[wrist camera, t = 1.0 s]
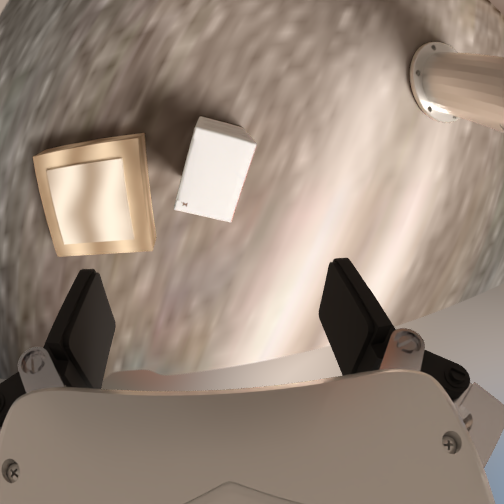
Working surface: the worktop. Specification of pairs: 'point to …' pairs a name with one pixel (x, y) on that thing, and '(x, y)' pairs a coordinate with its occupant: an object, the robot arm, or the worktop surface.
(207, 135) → the small box
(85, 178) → the maple plinth
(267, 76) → the worktop surface
